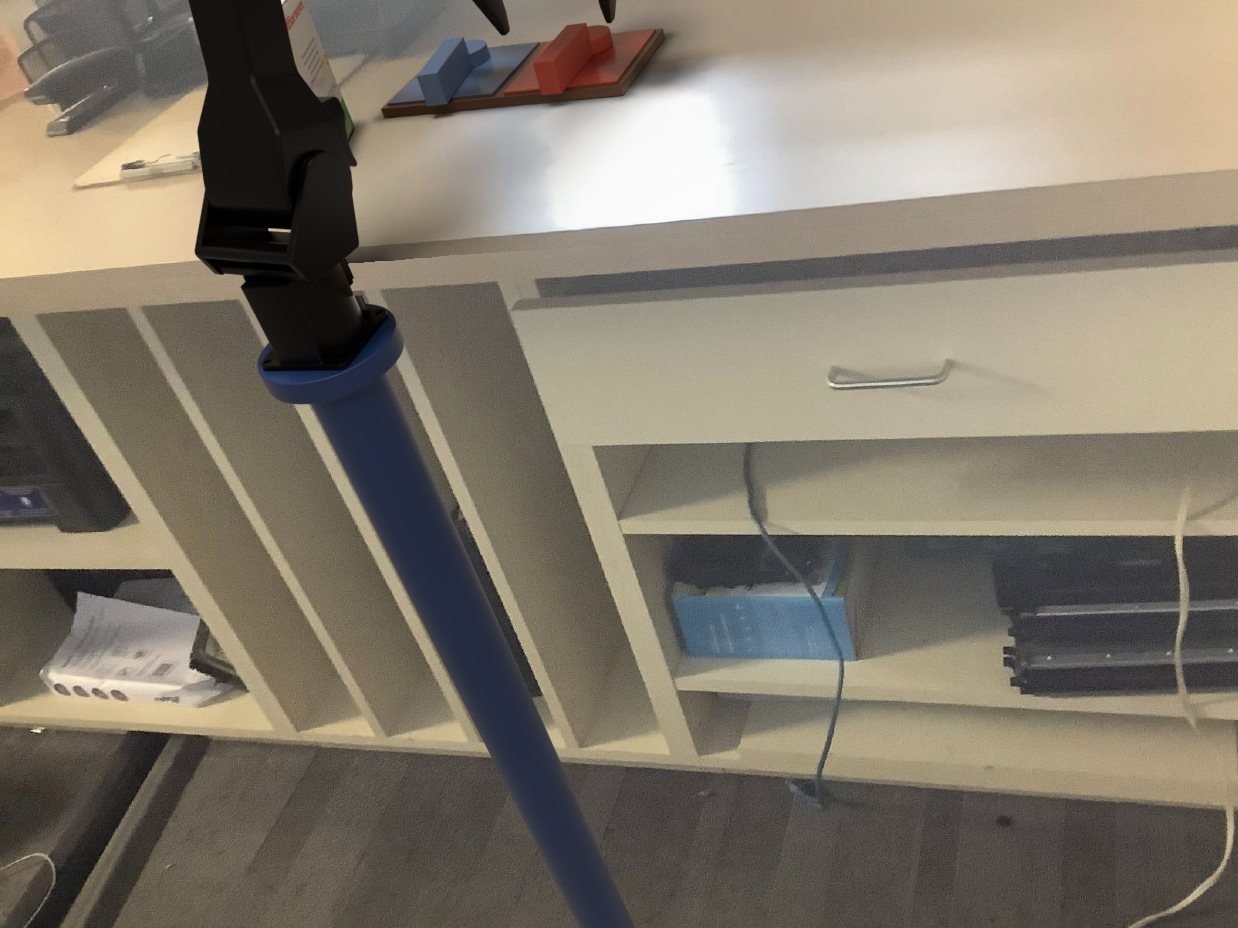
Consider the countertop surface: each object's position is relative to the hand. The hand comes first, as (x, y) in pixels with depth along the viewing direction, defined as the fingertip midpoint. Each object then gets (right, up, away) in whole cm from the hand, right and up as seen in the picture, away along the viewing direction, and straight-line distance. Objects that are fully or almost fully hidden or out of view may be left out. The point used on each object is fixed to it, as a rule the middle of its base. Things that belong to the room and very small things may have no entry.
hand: (557, 27), depth 91 cm
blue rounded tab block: (-9, -1, +7) cm, 12 cm away
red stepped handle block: (+1, -2, +4) cm, 4 cm away
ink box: (-20, -9, +3) cm, 22 cm away
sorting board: (-4, -1, +7) cm, 8 cm away
